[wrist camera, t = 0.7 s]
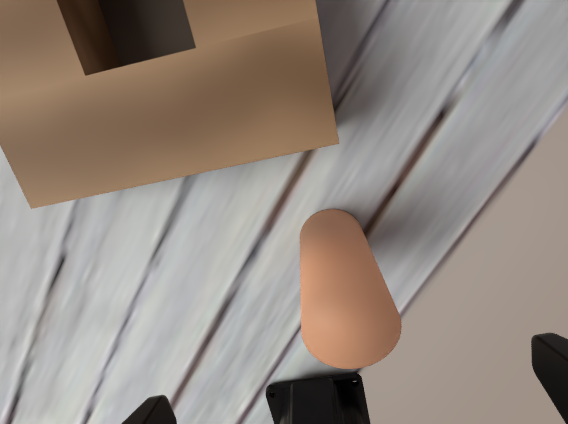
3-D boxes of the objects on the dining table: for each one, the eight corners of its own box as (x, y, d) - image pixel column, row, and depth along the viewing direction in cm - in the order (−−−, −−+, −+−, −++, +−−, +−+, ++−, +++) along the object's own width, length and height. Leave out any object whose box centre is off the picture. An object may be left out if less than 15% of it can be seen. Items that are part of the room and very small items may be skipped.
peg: (366, 260, 21) (406, 361, 13) (306, 271, 21) (311, 375, 14) (357, 203, 20) (395, 279, 12) (294, 215, 20) (292, 296, 13)
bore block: (330, 131, 18) (339, 143, 15) (81, 184, 20) (31, 208, 16) (268, -231, 14) (257, -348, 10) (-51, -125, 15) (-164, -193, 11)
